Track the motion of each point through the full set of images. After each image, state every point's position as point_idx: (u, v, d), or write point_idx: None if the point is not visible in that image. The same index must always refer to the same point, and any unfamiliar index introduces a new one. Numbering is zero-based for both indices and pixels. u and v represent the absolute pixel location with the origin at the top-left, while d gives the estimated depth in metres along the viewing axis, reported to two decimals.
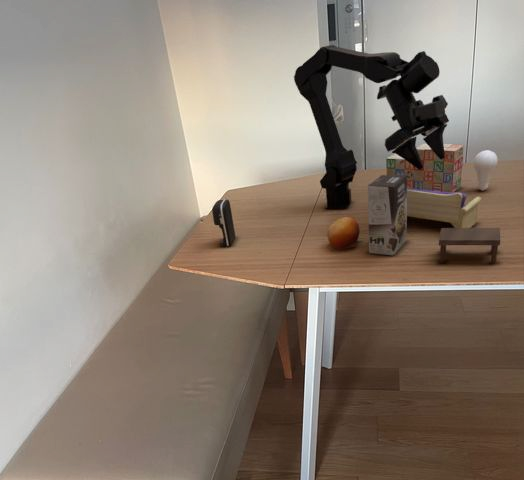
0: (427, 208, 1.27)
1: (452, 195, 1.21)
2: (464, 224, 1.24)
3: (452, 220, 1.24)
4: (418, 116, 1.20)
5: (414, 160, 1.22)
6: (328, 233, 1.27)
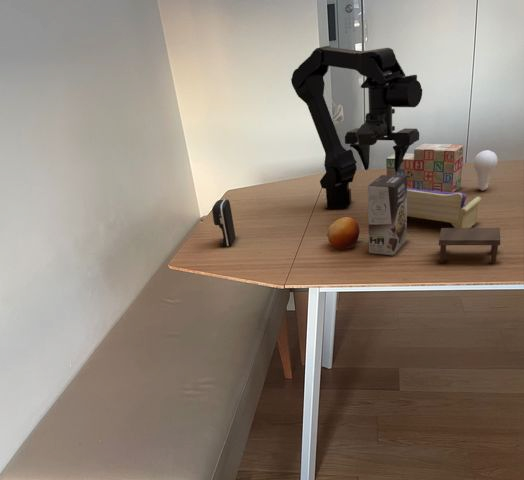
0: (427, 208, 1.27)
1: (452, 195, 1.21)
2: (464, 224, 1.24)
3: (452, 220, 1.24)
4: None
5: None
6: (328, 233, 1.27)
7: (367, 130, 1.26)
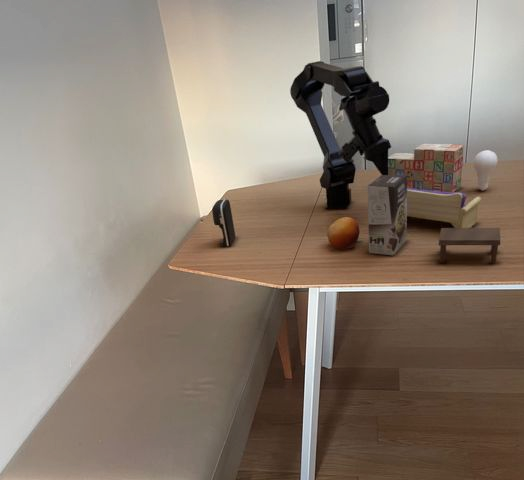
0: (427, 208, 1.27)
1: (452, 195, 1.21)
2: (464, 224, 1.24)
3: (452, 220, 1.24)
4: None
5: None
6: (328, 233, 1.27)
7: None
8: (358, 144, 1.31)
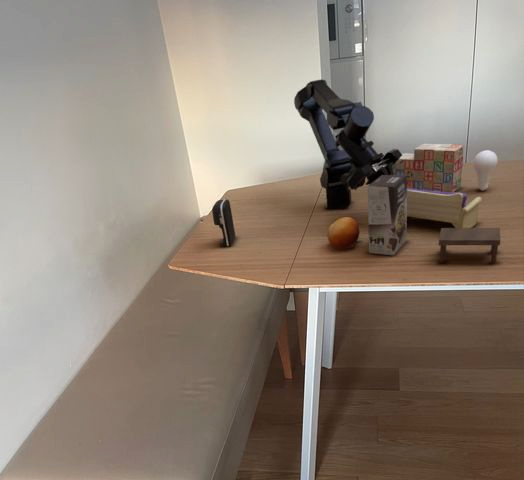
0: (428, 208, 1.27)
1: (453, 195, 1.20)
2: (465, 224, 1.23)
3: (453, 220, 1.24)
4: None
5: None
6: (328, 233, 1.27)
7: None
8: None
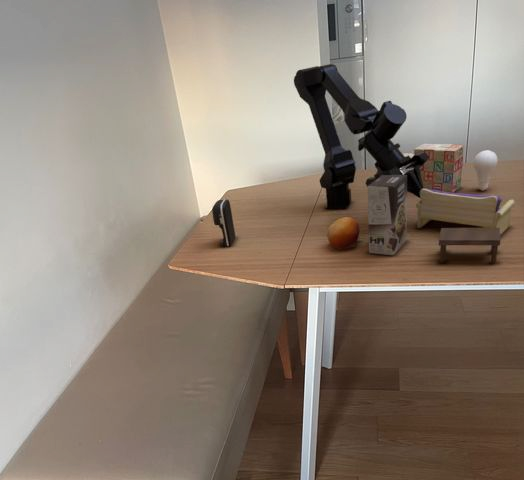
0: (458, 212, 1.22)
1: (487, 198, 1.16)
2: None
3: (486, 224, 1.19)
4: None
5: None
6: (328, 233, 1.27)
7: None
8: None
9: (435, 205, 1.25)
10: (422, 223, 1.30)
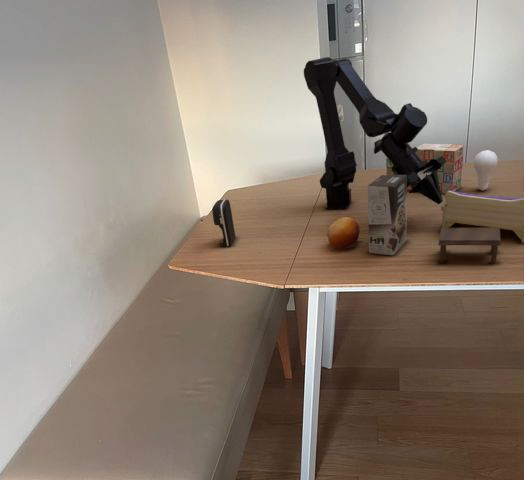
0: (486, 215, 1.18)
1: (517, 201, 1.12)
2: None
3: (515, 227, 1.15)
4: None
5: None
6: (328, 233, 1.27)
7: None
8: None
9: (461, 208, 1.21)
10: (447, 226, 1.26)
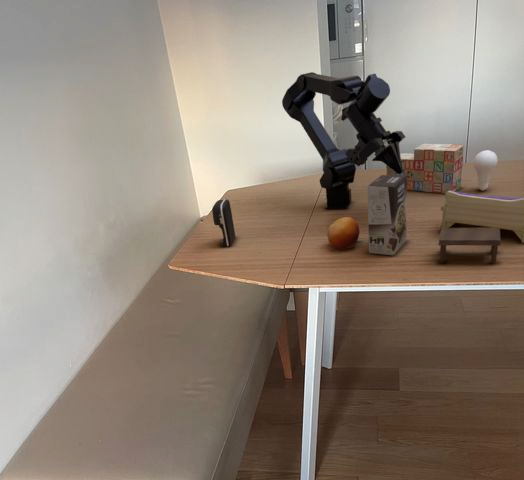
0: (486, 215, 1.18)
1: (517, 201, 1.12)
2: None
3: (515, 227, 1.15)
4: None
5: None
6: (328, 233, 1.27)
7: None
8: (362, 147, 1.32)
9: (461, 208, 1.21)
10: (447, 226, 1.26)
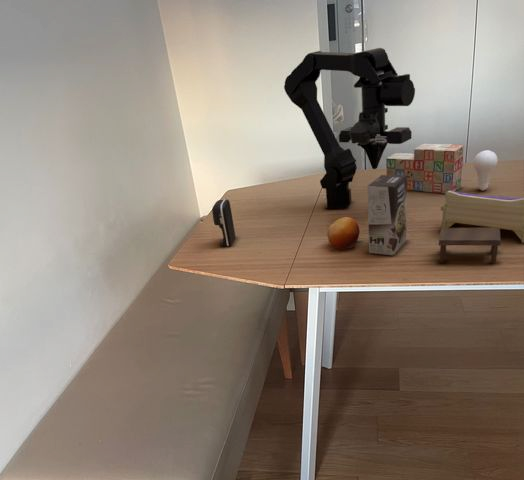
0: (486, 215, 1.18)
1: (517, 201, 1.12)
2: None
3: (515, 227, 1.15)
4: None
5: None
6: (328, 233, 1.27)
7: (360, 129, 1.29)
8: None
9: (461, 208, 1.21)
10: (447, 226, 1.26)
